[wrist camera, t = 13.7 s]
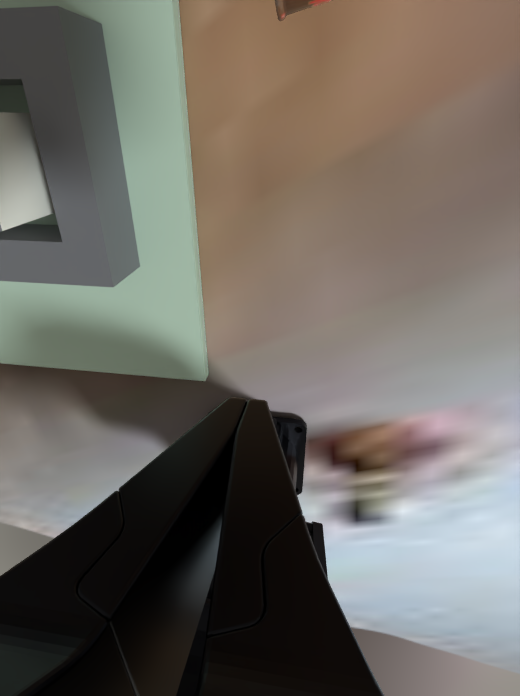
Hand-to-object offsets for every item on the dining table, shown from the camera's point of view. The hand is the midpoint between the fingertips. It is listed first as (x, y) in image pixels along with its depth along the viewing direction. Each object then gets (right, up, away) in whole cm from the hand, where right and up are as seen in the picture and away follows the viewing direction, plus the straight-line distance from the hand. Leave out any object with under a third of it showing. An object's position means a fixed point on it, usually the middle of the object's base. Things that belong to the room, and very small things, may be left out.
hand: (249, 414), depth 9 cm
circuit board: (-10, +8, +12) cm, 18 cm away
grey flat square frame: (-11, +10, +10) cm, 18 cm away
